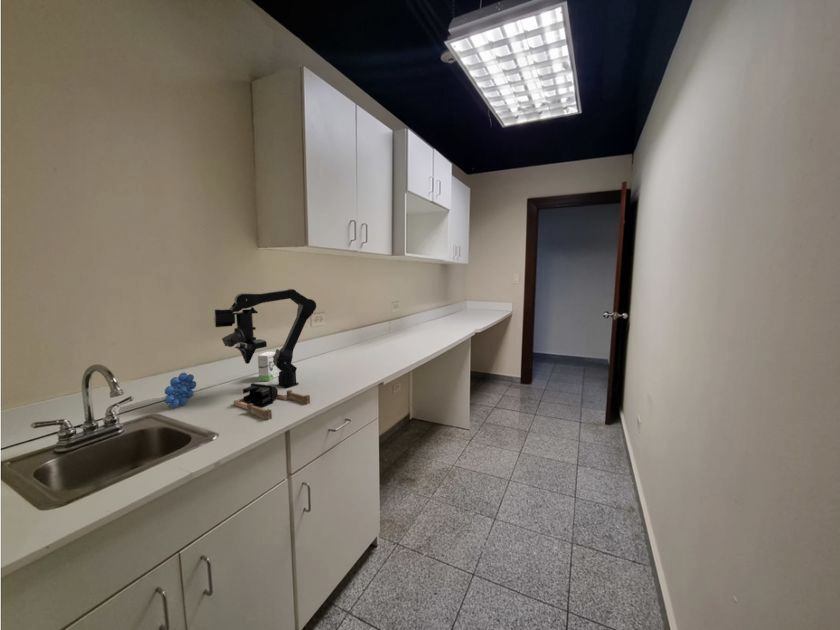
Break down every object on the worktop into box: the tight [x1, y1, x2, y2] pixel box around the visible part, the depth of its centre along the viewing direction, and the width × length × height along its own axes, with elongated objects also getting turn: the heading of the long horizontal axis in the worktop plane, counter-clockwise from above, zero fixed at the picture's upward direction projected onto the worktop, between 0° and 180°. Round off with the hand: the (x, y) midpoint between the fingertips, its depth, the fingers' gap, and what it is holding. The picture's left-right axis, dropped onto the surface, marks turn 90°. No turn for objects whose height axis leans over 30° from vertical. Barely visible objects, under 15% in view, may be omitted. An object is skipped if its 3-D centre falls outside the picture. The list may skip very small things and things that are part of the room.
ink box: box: [257, 351, 279, 382], centre depth 158 cm, size 9×5×12 cm, turn 172°
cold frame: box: [246, 389, 311, 421], centre depth 124 cm, size 17×11×3 cm, turn 148°
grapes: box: [164, 372, 197, 409], centre depth 126 cm, size 12×7×12 cm, turn 161°
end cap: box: [242, 382, 279, 408], centre depth 129 cm, size 10×7×7 cm
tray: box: [233, 392, 288, 410], centre depth 129 cm, size 14×12×2 cm
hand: (247, 363), depth 139 cm, fingers closed
